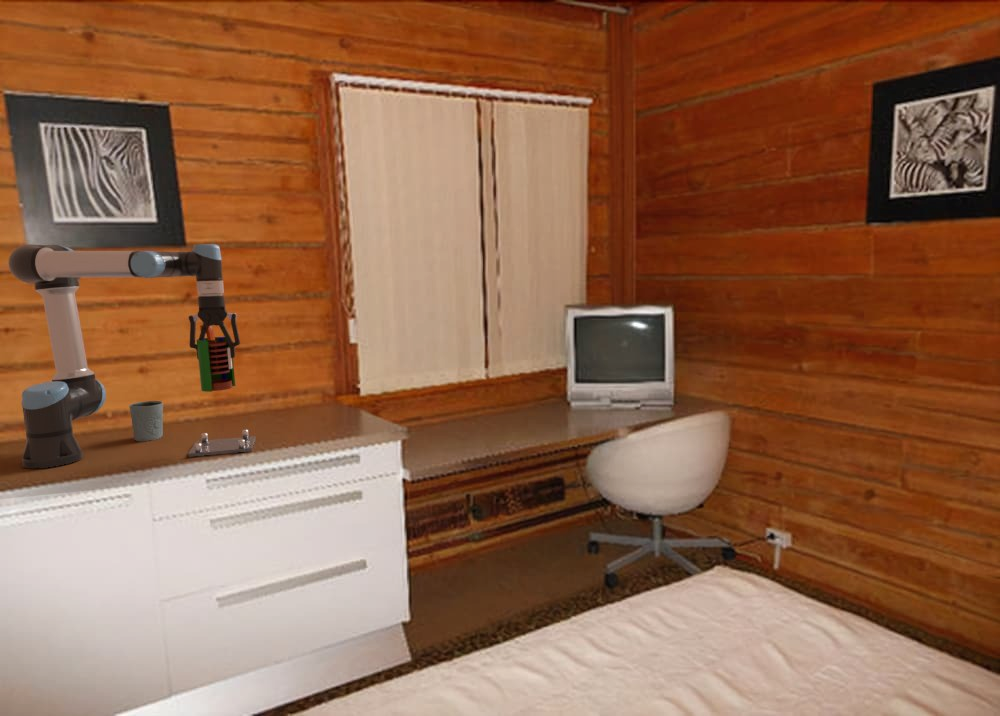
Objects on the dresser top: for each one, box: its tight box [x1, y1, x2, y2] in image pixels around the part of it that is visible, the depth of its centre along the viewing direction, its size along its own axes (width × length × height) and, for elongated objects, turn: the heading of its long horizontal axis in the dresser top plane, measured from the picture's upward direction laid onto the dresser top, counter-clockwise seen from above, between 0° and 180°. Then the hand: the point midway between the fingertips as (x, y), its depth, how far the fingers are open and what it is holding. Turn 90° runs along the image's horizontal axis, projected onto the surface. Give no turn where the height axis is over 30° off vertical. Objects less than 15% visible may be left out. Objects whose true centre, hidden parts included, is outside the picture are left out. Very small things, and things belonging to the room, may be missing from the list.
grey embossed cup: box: [128, 400, 164, 442], centre depth 232 cm, size 10×10×12 cm
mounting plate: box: [187, 429, 256, 458], centre depth 216 cm, size 18×16×4 cm
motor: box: [196, 324, 236, 393], centre depth 212 cm, size 10×9×20 cm
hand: (217, 369), depth 213 cm, fingers closed on motor, 7 cm apart
